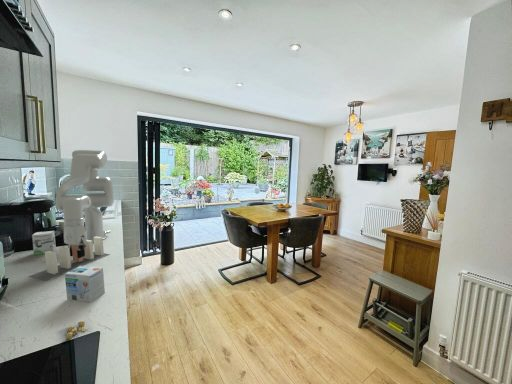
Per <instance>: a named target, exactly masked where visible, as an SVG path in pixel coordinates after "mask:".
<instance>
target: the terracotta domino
mask: <svg viewBox="0 0 512 384" xmlns="http://www.w3.org/2000/svg"><path fill="white" fill-rule="evenodd" d="M80 244H81V242H80ZM79 246H82V245H79ZM71 247H72V256H71V257H72V260H73V261H78V262H80V261H83V257H81V258H78V257H77V250H78V249H77V246H74V245H71Z"/></svg>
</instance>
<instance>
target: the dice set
mask: <svg viewBox="0 0 512 384" xmlns="http://www.w3.org/2000/svg"><path fill="white" fill-rule="evenodd" d="M84 326H85V320H80V321H78V326H77V327H78V328H77V327H76V328H74V327H75V326H74V325H70V326H68V327H67V329H66V331H67V334H65V340H66V341H70V340H72V339H73V336H74V335H76V334H78V332H79V331H81V332H82V333H85V332H86V331H87V330H88V328H87V327H86V328H84Z"/></svg>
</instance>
